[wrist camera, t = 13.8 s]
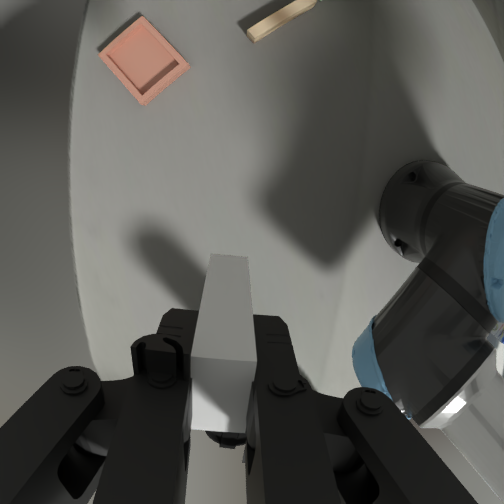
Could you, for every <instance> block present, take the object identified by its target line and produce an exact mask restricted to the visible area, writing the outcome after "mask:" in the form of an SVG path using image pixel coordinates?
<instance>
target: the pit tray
mask: <svg viewBox="0 0 504 504" xmlns="http://www.w3.org/2000/svg"><path fill="white" fill-rule="evenodd" d="M98 56H99V57H100V58H101V59H102V60H103V61H104V63H105V64H106V65H107V66H108V67H109V68H110V69H111V70H112V72H113V73H114V74H115V75H116V76H117V77H118V78H119V80H120V81H121V82H122V83H123V84H124V85H125V87H126V88H127V89H128V90H129V91H130V92H131V93H132V95H133V96H134V97H135V98H136V99H137V100H138V101H139V103H140V104H141V105H145V106H146V105H147V104H148V103H149V102H150V101H151V100H152V99H154V98H155V97H156V96H157V95H158V94H159V93H160V92H162V91H163V90H164V89H165V88H166V87H167V86H169V85H170V84H171V83H172V82H173V81H175V80H176V79H177V78H178V77H179V76H181V75H182V74H183V73H184V72H186V71H187V70H188V69H189V68H191V67H190V65H189V64H188V63H187V62H186V61H185V60H184V59H183V57H182V56H181V55H180V54H179V53H178V52H177V51H176V50H175V49H174V48H173V47H172V46H171V45H170V44H169V43H168V41H167V40H166V39H165V38H164V37H163V36H162V35H161V34H160V33H159V32H158V31H157V30H156V29H155V28H154V27H153V26H152V25H151V24H150V23H149V22H148V21H147V20H146V19H145V18H144V17H143V16H141V17H140V18H139V19H138V20H136V21H135V22H134V23H133V24H131V25H130V26H129V27H128V28H127V29H126V30H124V31H123V32H122V33H121V34H120V35H119V36H118V37H116V38H115V39H114V40H113V41H112V42H111V43H110V44H109V45H108V46H107V47H105V48H104V49H103V50H102V51H101V52H100V53H99V54H98Z"/></svg>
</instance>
